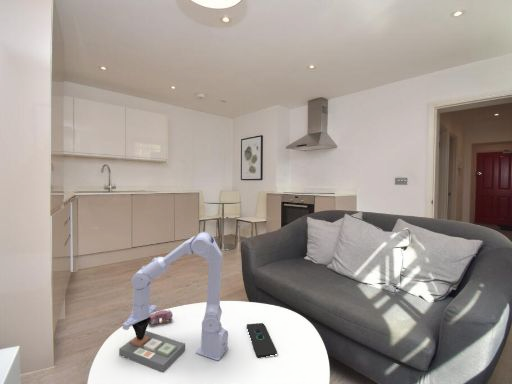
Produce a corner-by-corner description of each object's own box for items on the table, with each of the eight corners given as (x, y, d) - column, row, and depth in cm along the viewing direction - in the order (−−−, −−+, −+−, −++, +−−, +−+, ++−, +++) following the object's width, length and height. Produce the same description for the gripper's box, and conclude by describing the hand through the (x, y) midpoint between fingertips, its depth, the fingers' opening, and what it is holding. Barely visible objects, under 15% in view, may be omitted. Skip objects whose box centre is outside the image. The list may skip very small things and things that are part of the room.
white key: (162, 345, 96) (162, 341, 96) (153, 352, 92) (153, 348, 92) (152, 342, 98) (152, 338, 97) (143, 349, 93) (143, 345, 93)
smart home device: (264, 322, 117) (278, 352, 97) (264, 326, 117) (278, 357, 97) (245, 323, 115) (256, 355, 95) (245, 327, 115) (256, 359, 95)
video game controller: (148, 329, 111) (149, 318, 108) (147, 319, 114) (148, 309, 111) (172, 324, 116) (174, 314, 112) (170, 315, 119) (172, 305, 116)
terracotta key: (149, 340, 98) (149, 336, 98) (140, 348, 94) (140, 343, 94) (139, 337, 100) (140, 333, 99) (130, 344, 95) (130, 340, 95)
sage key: (175, 350, 94) (176, 346, 94) (167, 357, 90) (167, 353, 90) (165, 346, 95) (165, 342, 95) (157, 354, 91) (157, 349, 91)
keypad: (184, 350, 97) (185, 343, 97) (163, 372, 86) (163, 364, 86) (144, 336, 104) (144, 329, 104) (119, 355, 92) (119, 347, 92)
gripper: (147, 292, 104) (146, 325, 105) (116, 308, 90) (115, 346, 91) (161, 296, 101) (160, 329, 102) (132, 313, 88) (130, 352, 89)
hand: (140, 338), depth 97 cm, fingers closed
